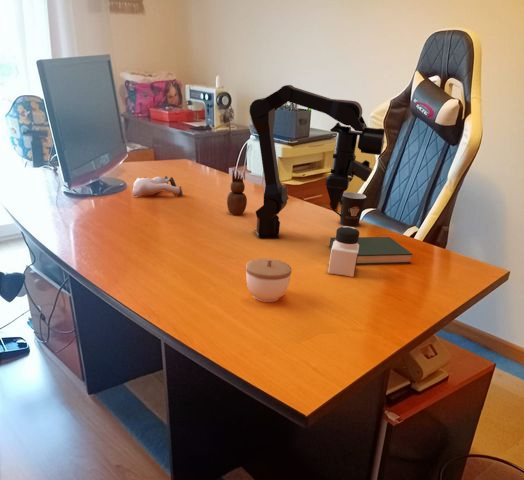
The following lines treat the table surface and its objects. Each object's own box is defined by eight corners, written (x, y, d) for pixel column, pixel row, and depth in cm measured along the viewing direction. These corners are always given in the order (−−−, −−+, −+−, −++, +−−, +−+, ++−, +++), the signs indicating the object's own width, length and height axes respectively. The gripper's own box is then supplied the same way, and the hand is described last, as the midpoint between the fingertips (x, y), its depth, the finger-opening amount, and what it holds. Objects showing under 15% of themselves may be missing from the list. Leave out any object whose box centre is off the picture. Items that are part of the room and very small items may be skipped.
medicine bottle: (353, 277, 140) (361, 234, 134) (327, 273, 141) (334, 230, 135) (355, 268, 146) (362, 226, 140) (329, 264, 147) (336, 222, 141)
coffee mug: (363, 222, 185) (368, 194, 180) (359, 229, 178) (364, 200, 173) (331, 217, 188) (335, 189, 183) (326, 223, 181) (330, 194, 176)
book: (347, 265, 148) (349, 255, 146) (329, 246, 160) (330, 237, 158) (410, 263, 153) (412, 253, 151) (387, 245, 165) (389, 236, 164)
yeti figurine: (157, 188, 211) (115, 194, 197) (156, 171, 208) (113, 176, 194) (189, 195, 200) (148, 202, 186) (189, 177, 197) (146, 182, 183)
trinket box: (267, 284, 132) (270, 248, 127) (297, 299, 125) (301, 262, 120) (235, 294, 125) (236, 257, 120) (265, 310, 119) (268, 272, 114)
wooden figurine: (224, 214, 181) (225, 169, 174) (230, 210, 186) (232, 167, 179) (241, 217, 180) (244, 173, 172) (248, 213, 184) (250, 170, 177)
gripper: (370, 159, 137) (360, 218, 145) (375, 149, 153) (365, 202, 161) (329, 154, 139) (321, 212, 147) (338, 144, 155) (330, 196, 163)
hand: (336, 205), depth 154 cm, fingers open, 9 cm apart
